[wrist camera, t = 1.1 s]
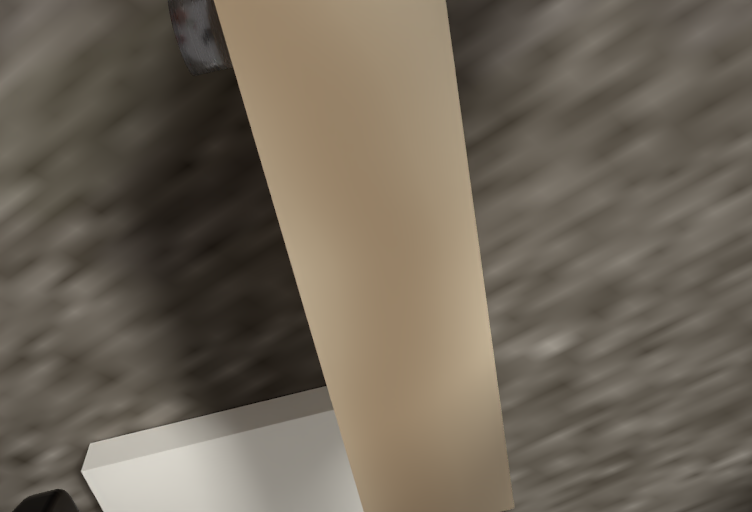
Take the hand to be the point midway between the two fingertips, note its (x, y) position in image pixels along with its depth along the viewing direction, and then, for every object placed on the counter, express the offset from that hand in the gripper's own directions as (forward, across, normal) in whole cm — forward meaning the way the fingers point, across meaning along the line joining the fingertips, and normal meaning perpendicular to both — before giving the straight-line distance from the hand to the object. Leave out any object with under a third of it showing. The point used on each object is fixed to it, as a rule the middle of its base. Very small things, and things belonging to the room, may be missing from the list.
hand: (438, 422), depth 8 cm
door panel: (+11, 0, 0) cm, 11 cm away
